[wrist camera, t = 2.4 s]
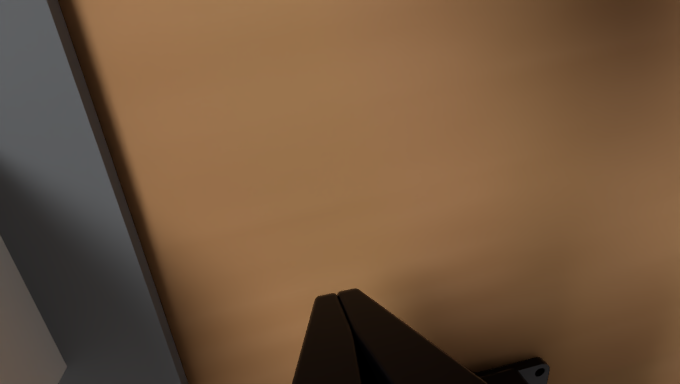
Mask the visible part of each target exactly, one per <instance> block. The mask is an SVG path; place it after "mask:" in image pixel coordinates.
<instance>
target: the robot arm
mask: <svg viewBox="0 0 680 384" xmlns="http://www.w3.org/2000/svg"><path fill="white" fill-rule="evenodd" d="M548 375H549V366H548V365H547V363H546V362H545V361H544V360H543V359H542V358H540V357H536V358H532V359H528V360H525V361H521V362H517V363H513V364H510V365H506V366H502V367H498V368H495V369H491V370H487V371H484V372H480V373H476V374H474V373H472V372H471V371H470V370H468V369H467V368H465V367H464V366H463V365H461V364H460V363H459V362H457V361H456V360H455V359H453V358H452V357H450V356H449V355H448V354H446V353H445V352H444V351H442V350H441V349H439V348H438V347H437V346H435V345H434V344H433V343H431V342H430V341H429V340H427V339H426V338H424V337H423V336H422V335H420V334H419V333H418V332H416V331H415V330H413V329H412V328H411V327H409V326H408V325H407V324H405V323H404V322H403V321H401V320H400V319H398V318H397V317H396V316H394V315H393V314H392V313H390V312H389V311H388V310H386V309H385V308H383V307H382V306H381V305H379V304H378V303H377V302H375V301H374V300H372V299H371V298H370V297H368V296H367V295H366V294H364V293H363V292H362V291H360V290H359V289H356V288H355V289H349V290H345V291H340V292H339V293H338V294H337V295H336V294H335V293H331V294H326V295H321V296H318V297H316V299H315V301H314V305H313V309H312V312H311V316H310V320H309V323H308V327H307V331H306V334H305V338H304V342H303V345H302V349H301V353H300V356H299V360H298V364H297V367H296V371H295V375H294V378H293V382H292V384H547V380H548Z"/></svg>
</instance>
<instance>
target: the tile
mask: <svg viewBox="0 0 680 384" xmlns="http://www.w3.org/2000/svg"><path fill="white" fill-rule="evenodd" d="M66 368H67V365H66V363H65V361H64V360H63V358H62V356H61V354H60V352H59V350H58V348H57V346H56V344H55V342H54V340H53V338H52V336H51V334H50V332H49V330H48V328H47V326H46V324H45V322H44V320H43V318H42V316H41V314H40V312H39V310H38V308H37V306H36V304H35V302H34V300H33V298H32V297H31V295H30V293H29V291H28V289H27V287H26V285H25V283H24V281H23V279H22V277H21V275H20V273H19V271H18V269H17V267H16V265H15V263H14V261H13V259H12V257H11V255H10V253H9V251H8V249H7V247H6V245H5V243H4V241H3V239H2V237H1V236H0V384H58V383H59V381H60V379H61V377H62V375H63V374H64V372H65V370H66Z"/></svg>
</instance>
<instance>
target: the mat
mask: <svg viewBox="0 0 680 384" xmlns="http://www.w3.org/2000/svg"><path fill="white" fill-rule="evenodd" d="M0 236H1V237H2V239H3V241H4V243H5V245H6V247H7V249H8V251H9V253H10V255H11V257H12V259H13V261H14V263H15V265H16V267H17V269H18V271H19V273H20V275H21V277H22V279H23V281H24V283H25V285H26V287H27V289H28V291H29V293H30V295H31V297H32V298H33V300H34V302H35V304H36V306H37V308H38V310H39V312H40V314H41V316H42V318H43V320H44V322H45V324H46V326H47V328H48V330H49V332H50V334H51V336H52V338H53V340H54V342H55V344H56V346H57V348H58V350H59V352H60V354H61V356H62V358H63V360H64V361H65V363H66V365H67V368H66V370H65V372H64V374H63V375H62V377H61V379H60V381H59V383H58V384H188V381H187V378H186V375H185V372H184V370H183V367H182V364H181V361H180V358H179V355H178V352H177V349H176V346H175V343H174V340H173V337H172V334H171V331H170V328H169V325H168V323H167V320H166V317H165V314H164V311H163V308H162V305H161V302H160V299H159V296H158V293H157V290H156V287H155V284H154V281H153V279H152V276H151V273H150V270H149V267H148V264H147V261H146V258H145V255H144V252H143V249H142V246H141V243H140V240H139V237H138V234H137V232H136V229H135V226H134V223H133V220H132V217H131V214H130V211H129V208H128V205H127V202H126V199H125V196H124V193H123V190H122V188H121V185H120V182H119V179H118V176H117V173H116V170H115V167H114V164H113V161H112V158H111V155H110V152H109V149H108V146H107V143H106V141H105V138H104V135H103V132H102V129H101V126H100V123H99V120H98V117H97V114H96V111H95V108H94V105H93V102H92V99H91V96H90V94H89V91H88V88H87V85H86V82H85V79H84V76H83V73H82V70H81V67H80V64H79V61H78V58H77V55H76V52H75V50H74V47H73V44H72V41H71V38H70V35H69V32H68V29H67V26H66V23H65V20H64V17H63V14H62V11H61V8H60V5H59V3H58V0H0Z"/></svg>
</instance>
